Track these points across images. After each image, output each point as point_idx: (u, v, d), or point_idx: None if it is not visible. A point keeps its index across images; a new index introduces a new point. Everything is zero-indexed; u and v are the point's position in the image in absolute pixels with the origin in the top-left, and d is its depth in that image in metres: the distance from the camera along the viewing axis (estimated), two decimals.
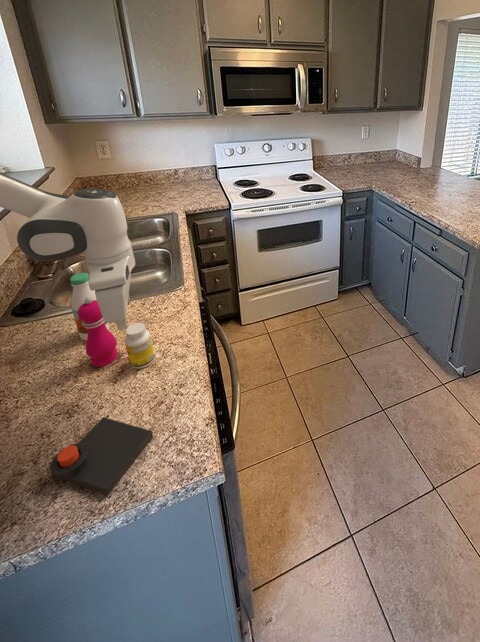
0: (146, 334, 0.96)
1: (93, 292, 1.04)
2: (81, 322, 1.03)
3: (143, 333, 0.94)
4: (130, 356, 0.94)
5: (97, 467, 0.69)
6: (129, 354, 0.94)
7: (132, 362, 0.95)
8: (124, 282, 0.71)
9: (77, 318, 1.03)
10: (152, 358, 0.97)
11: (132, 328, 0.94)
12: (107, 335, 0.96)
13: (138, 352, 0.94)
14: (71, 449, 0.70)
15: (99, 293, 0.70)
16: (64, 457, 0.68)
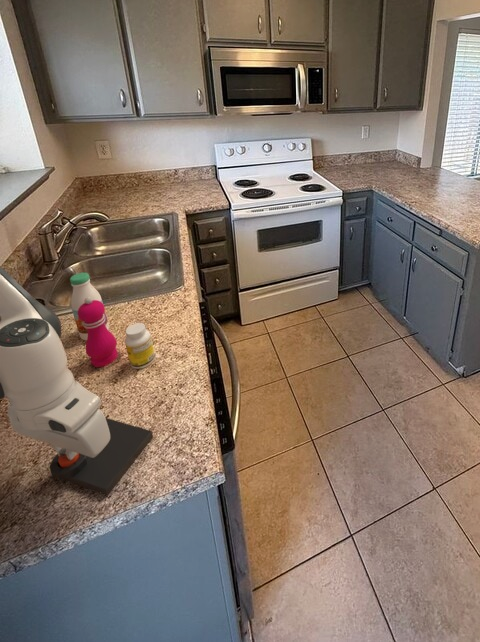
0: (147, 334, 0.96)
1: (93, 292, 1.04)
2: (81, 322, 1.03)
3: (143, 333, 0.94)
4: (130, 356, 0.94)
5: (97, 467, 0.69)
6: (129, 354, 0.94)
7: (132, 362, 0.95)
8: (100, 403, 0.65)
9: (77, 318, 1.03)
10: (152, 358, 0.97)
11: (132, 328, 0.94)
12: (107, 335, 0.96)
13: (138, 352, 0.94)
14: None
15: (81, 430, 0.62)
16: (65, 459, 0.69)
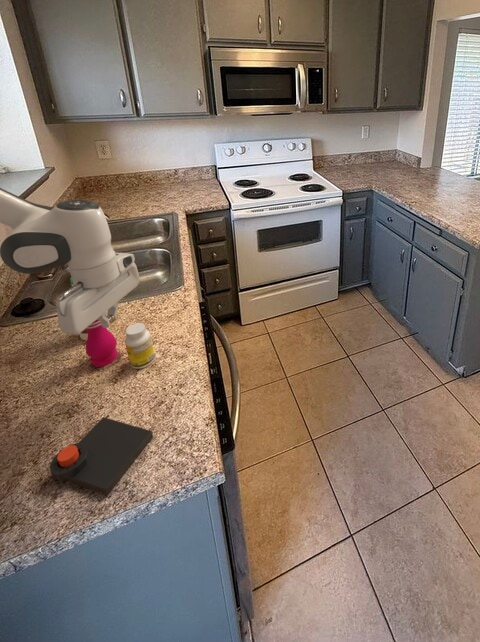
0: (147, 334, 0.96)
1: None
2: None
3: (143, 333, 0.94)
4: (130, 356, 0.94)
5: (97, 467, 0.69)
6: (129, 354, 0.94)
7: (132, 362, 0.95)
8: None
9: None
10: (152, 358, 0.97)
11: (132, 328, 0.94)
12: (107, 335, 0.96)
13: (138, 352, 0.94)
14: (71, 449, 0.70)
15: None
16: (64, 457, 0.68)
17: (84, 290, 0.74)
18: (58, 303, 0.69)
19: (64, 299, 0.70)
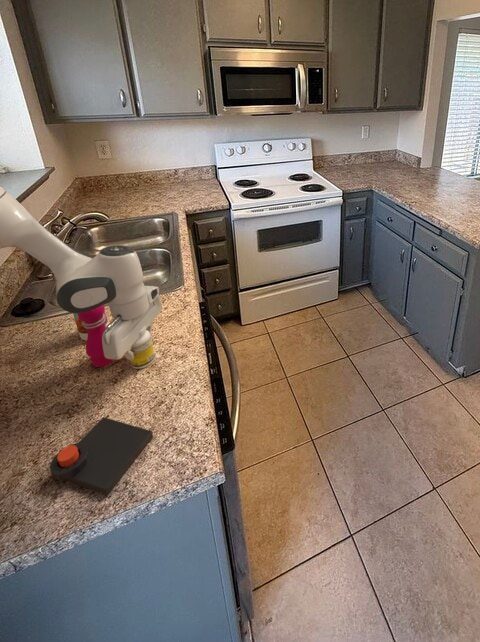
0: (147, 334, 0.96)
1: None
2: (81, 322, 1.03)
3: (143, 333, 0.94)
4: None
5: (97, 467, 0.69)
6: None
7: (132, 362, 0.95)
8: None
9: (77, 318, 1.03)
10: (152, 358, 0.97)
11: None
12: None
13: (138, 352, 0.94)
14: (71, 449, 0.70)
15: None
16: (64, 457, 0.68)
17: (122, 321, 0.88)
18: (104, 334, 0.83)
19: (109, 331, 0.84)
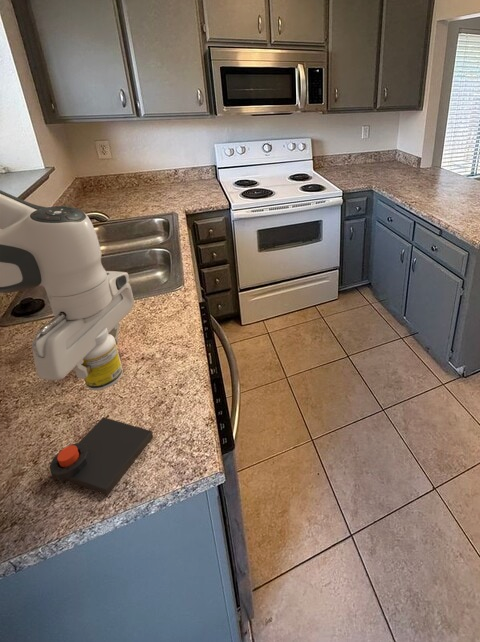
0: (109, 340, 0.66)
1: None
2: None
3: (103, 339, 0.65)
4: None
5: (97, 467, 0.69)
6: None
7: (87, 381, 0.65)
8: None
9: None
10: (118, 375, 0.68)
11: None
12: None
13: (95, 368, 0.64)
14: (71, 449, 0.70)
15: None
16: (64, 457, 0.68)
17: (68, 322, 0.58)
18: (34, 342, 0.53)
19: (42, 336, 0.54)
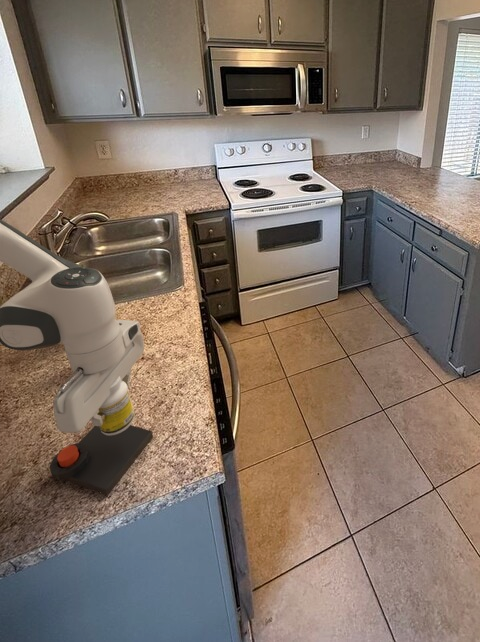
0: (122, 387, 0.70)
1: None
2: None
3: (117, 388, 0.69)
4: None
5: (97, 467, 0.69)
6: None
7: (102, 427, 0.69)
8: None
9: None
10: (130, 419, 0.72)
11: None
12: None
13: (110, 415, 0.68)
14: (71, 449, 0.70)
15: None
16: (64, 457, 0.68)
17: (85, 377, 0.62)
18: (55, 400, 0.57)
19: (62, 394, 0.58)
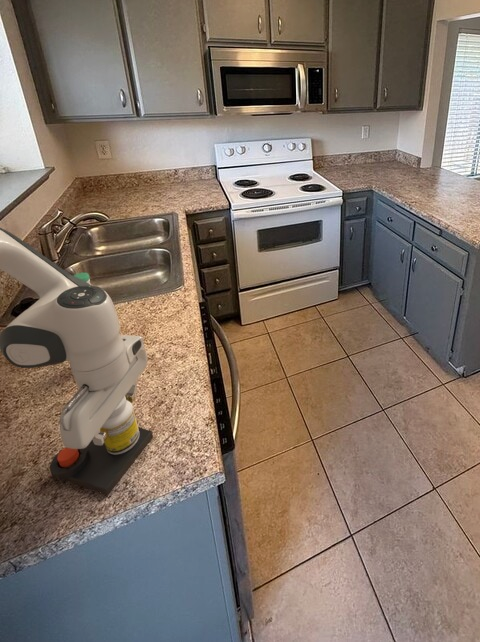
0: (128, 408, 0.72)
1: None
2: None
3: (123, 408, 0.70)
4: None
5: (97, 467, 0.69)
6: None
7: (108, 447, 0.71)
8: None
9: None
10: (135, 438, 0.73)
11: None
12: None
13: (116, 435, 0.70)
14: (71, 449, 0.70)
15: None
16: (64, 457, 0.68)
17: (90, 393, 0.64)
18: (62, 418, 0.58)
19: (68, 411, 0.60)
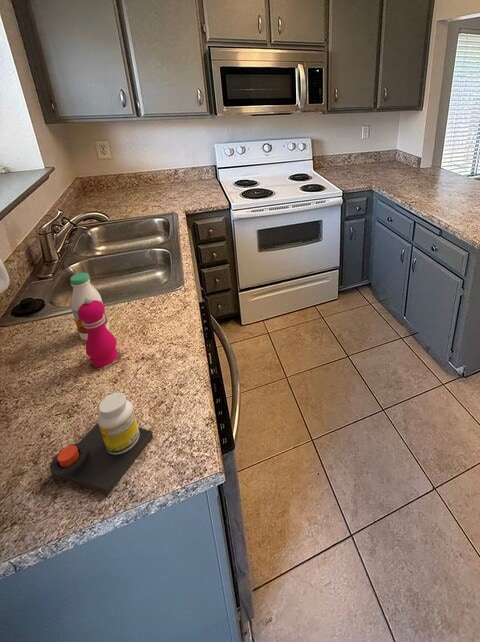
0: (128, 408, 0.72)
1: (93, 292, 1.04)
2: (81, 322, 1.03)
3: (123, 408, 0.70)
4: (105, 439, 0.70)
5: (97, 467, 0.69)
6: (104, 437, 0.70)
7: (108, 447, 0.71)
8: None
9: (77, 318, 1.03)
10: (135, 438, 0.73)
11: (108, 401, 0.71)
12: (107, 335, 0.96)
13: (116, 435, 0.70)
14: (71, 449, 0.70)
15: None
16: (64, 457, 0.68)
17: None
18: None
19: None
